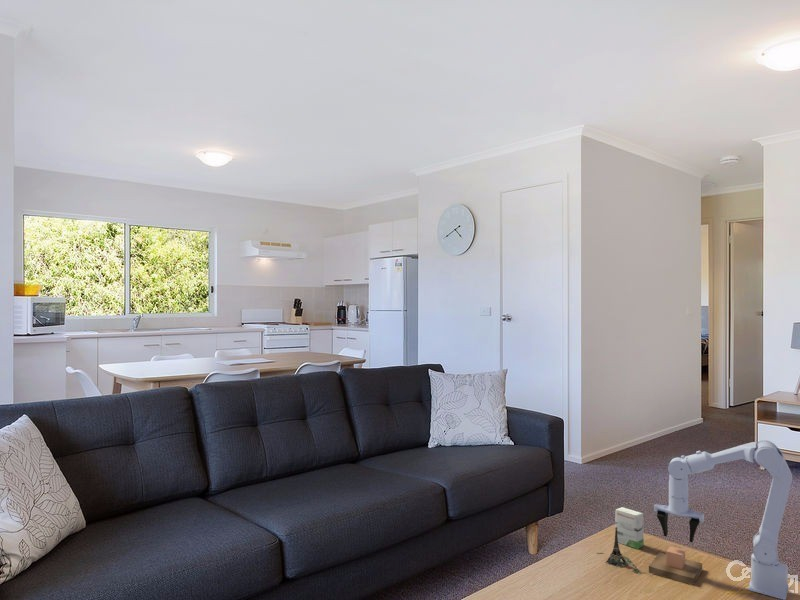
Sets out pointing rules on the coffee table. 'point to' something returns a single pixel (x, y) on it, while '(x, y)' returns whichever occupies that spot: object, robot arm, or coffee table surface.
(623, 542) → the ink box
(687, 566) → the walnut base
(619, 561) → the eiffel tower figurine
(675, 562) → the terracotta block
